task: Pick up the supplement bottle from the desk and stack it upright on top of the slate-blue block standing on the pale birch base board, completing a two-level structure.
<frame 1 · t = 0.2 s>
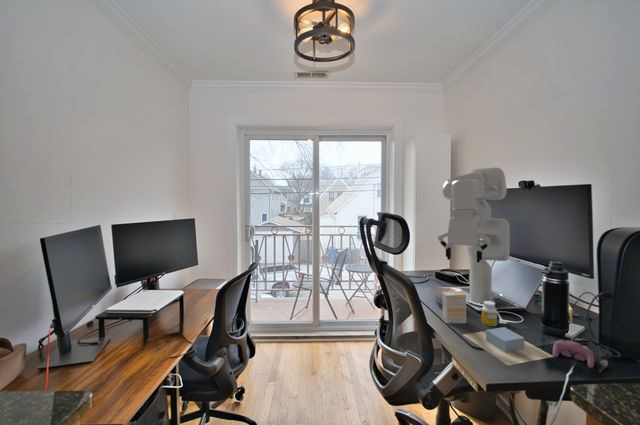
hand: (463, 260, 101), 31 cm above the table, tool pointing down, fingers open, 9 cm apart
hard drive: (565, 331, 109), on the table
base board: (504, 347, 98), on the table
slate block: (504, 344, 98), point 1 cm above the table, touching base board
supplement bottle: (489, 325, 114), on the table
supplement box: (454, 323, 118), on the table
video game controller: (572, 361, 89), on the table
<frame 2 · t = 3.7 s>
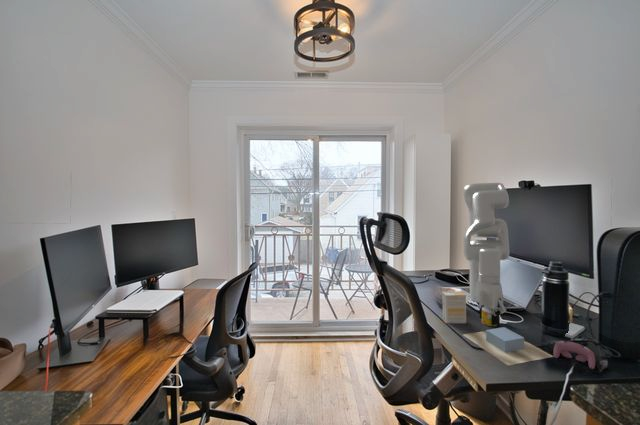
hand: (489, 320, 114), 2 cm above the table, tool pointing down, fingers closed on supplement bottle, 5 cm apart
supplement bottle: (489, 325, 114), on the table, touching gripper
when the fingers open (8 cm above the table, at t = 10.3 s): supplement bottle drops 1 cm, resting on slate block.
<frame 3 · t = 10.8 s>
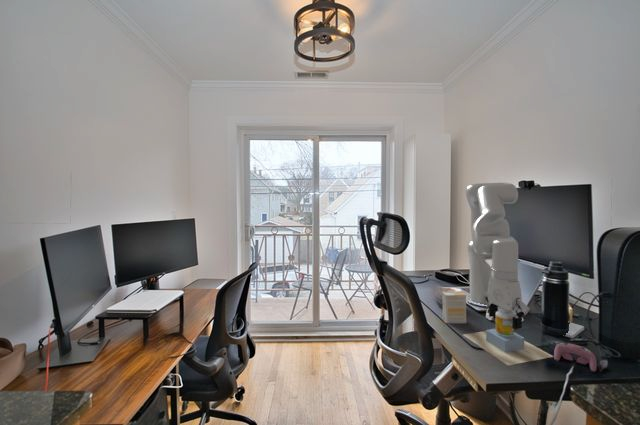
hand: (504, 321, 97), 9 cm above the table, tool pointing down, fingers open, 9 cm apart
slate block: (504, 344, 98), point 1 cm above the table, touching base board, supplement bottle
supplement bottle: (504, 334, 98), point 5 cm above the table, touching slate block
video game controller: (574, 365, 87), on the table
everything else where it was.
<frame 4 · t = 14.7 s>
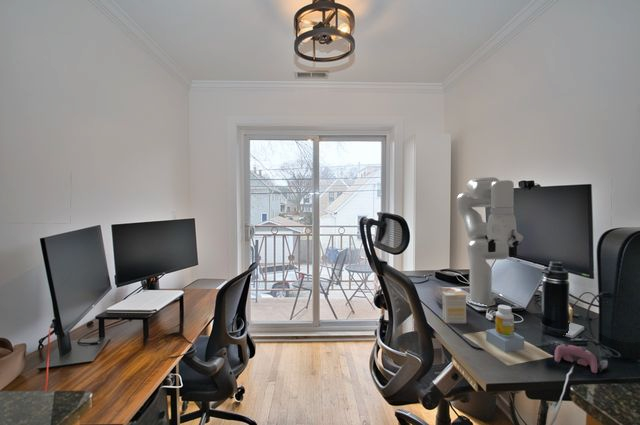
hand: (501, 254, 110), 30 cm above the table, tool pointing down, fingers open, 9 cm apart
at the end: supplement bottle 0.1 cm off-centre on the slate block, point 3.8 cm above the slate block's base; supplement bottle tilted 0°; slate block moved 0.0 cm from its start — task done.
